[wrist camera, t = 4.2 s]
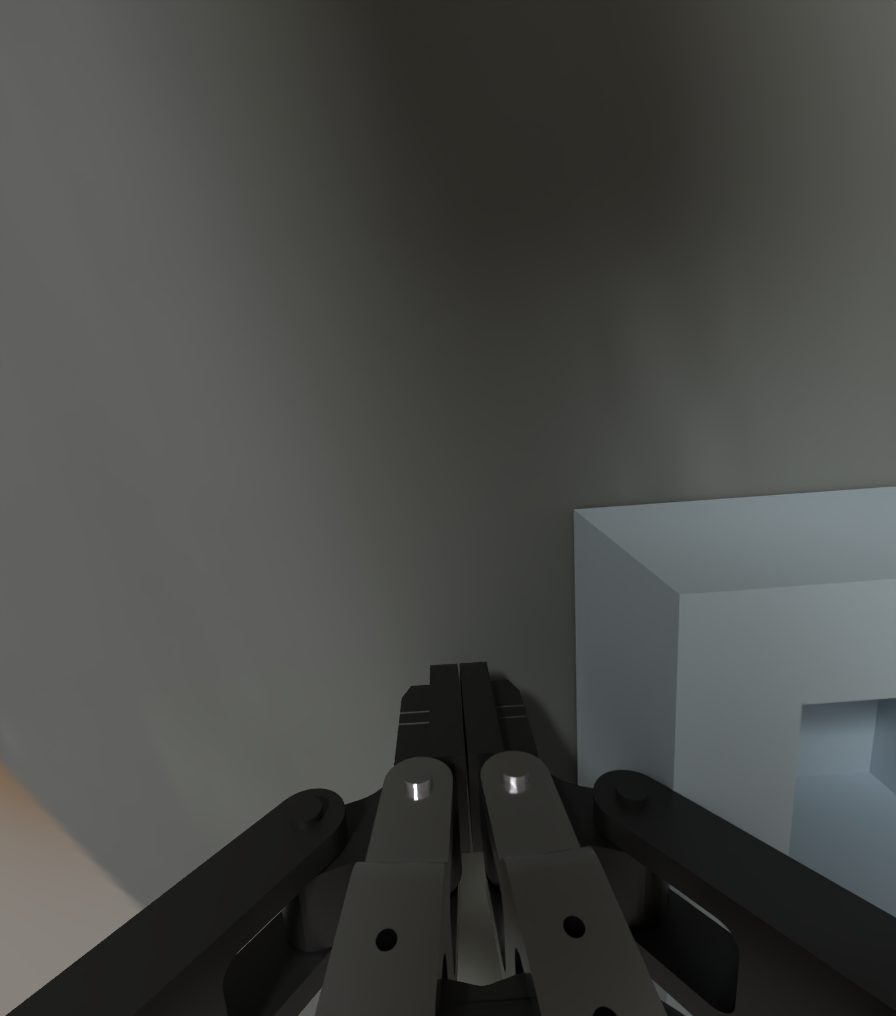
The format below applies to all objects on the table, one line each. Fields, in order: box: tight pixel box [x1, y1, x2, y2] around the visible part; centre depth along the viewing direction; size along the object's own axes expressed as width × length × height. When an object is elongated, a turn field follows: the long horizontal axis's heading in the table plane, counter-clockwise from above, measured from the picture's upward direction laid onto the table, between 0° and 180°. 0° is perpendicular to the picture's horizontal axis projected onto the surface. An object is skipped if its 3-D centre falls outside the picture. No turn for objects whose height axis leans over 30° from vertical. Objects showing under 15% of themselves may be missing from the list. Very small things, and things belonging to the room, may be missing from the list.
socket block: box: [574, 487, 896, 1016], centre depth 11 cm, size 9×9×6 cm
